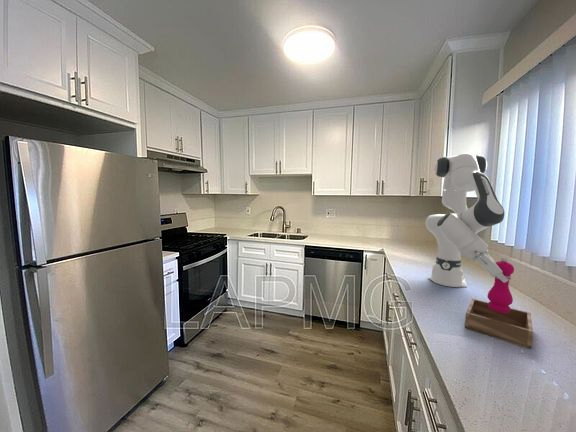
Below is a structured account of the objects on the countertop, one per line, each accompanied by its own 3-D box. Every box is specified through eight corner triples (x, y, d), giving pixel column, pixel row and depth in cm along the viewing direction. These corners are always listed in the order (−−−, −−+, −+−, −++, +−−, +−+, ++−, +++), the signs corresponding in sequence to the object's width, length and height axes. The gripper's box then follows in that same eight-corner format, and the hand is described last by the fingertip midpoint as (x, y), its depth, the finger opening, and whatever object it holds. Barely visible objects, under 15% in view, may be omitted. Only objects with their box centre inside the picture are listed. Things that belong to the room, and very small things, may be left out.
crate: (470, 311, 107) (472, 298, 106) (528, 327, 95) (530, 312, 94) (464, 328, 93) (465, 312, 93) (531, 349, 81) (533, 331, 81)
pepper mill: (485, 309, 93) (491, 257, 91) (487, 303, 98) (492, 254, 96) (511, 316, 88) (517, 261, 86) (511, 309, 93) (517, 257, 92)
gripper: (485, 249, 86) (520, 282, 82) (478, 240, 103) (507, 267, 99) (468, 259, 89) (501, 292, 84) (464, 249, 106) (491, 276, 102)
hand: (504, 278), depth 92 cm, fingers closed on pepper mill, 5 cm apart
